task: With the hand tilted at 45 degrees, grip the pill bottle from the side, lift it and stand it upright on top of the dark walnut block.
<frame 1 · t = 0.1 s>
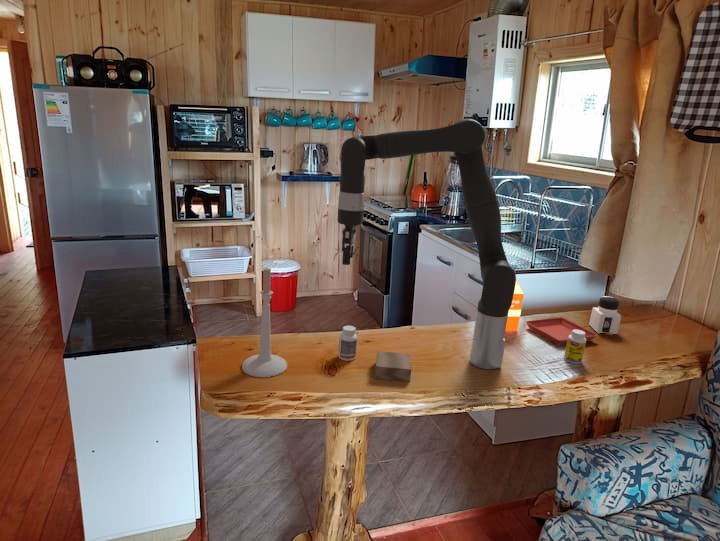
hand: (347, 260, 159), 29 cm above the breakfast bar, tool pointing down, fingers open, 8 cm apart
container: (602, 330, 200), on the breakfast bar
supplement bottle: (572, 361, 172), on the breakfast bar
orange juice: (502, 327, 196), on the breakfast bar
pill bottle: (346, 357, 162), on the breakfast bar
grey pole stand: (264, 367, 153), on the breakfast bar
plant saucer: (559, 336, 192), on the breakfast bar
walnut base: (392, 372, 155), on the breakfast bar
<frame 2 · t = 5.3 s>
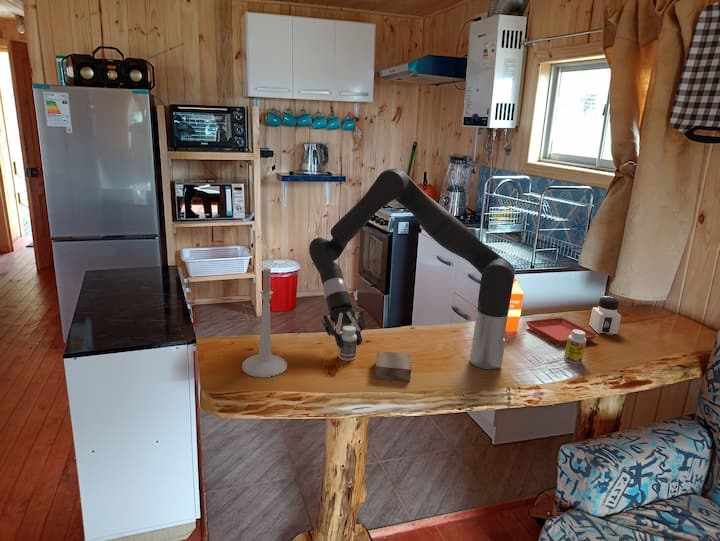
hand: (350, 345, 159), 5 cm above the breakfast bar, tool tilted 45°, fingers closed on pill bottle, 5 cm apart
pill bottle: (346, 357, 162), on the breakfast bar, touching gripper
everything else where it was.
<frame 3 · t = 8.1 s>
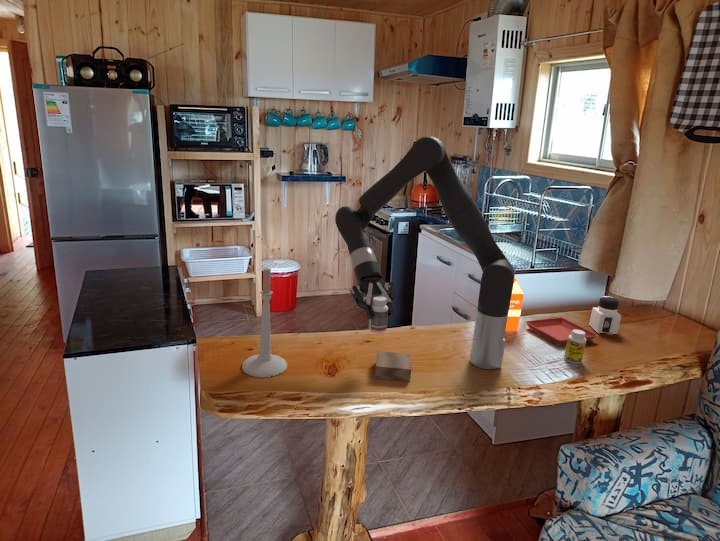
hand: (381, 316, 152), 16 cm above the breakfast bar, tool tilted 45°, fingers closed on pill bottle, 5 cm apart
pill bottle: (377, 330, 155), point 12 cm above the breakfast bar, touching gripper
everything else where it was.
when the fingers open (10 cm above the breakfast bar, at t = 10.8 s): pill bottle drops 1 cm, resting on walnut base.
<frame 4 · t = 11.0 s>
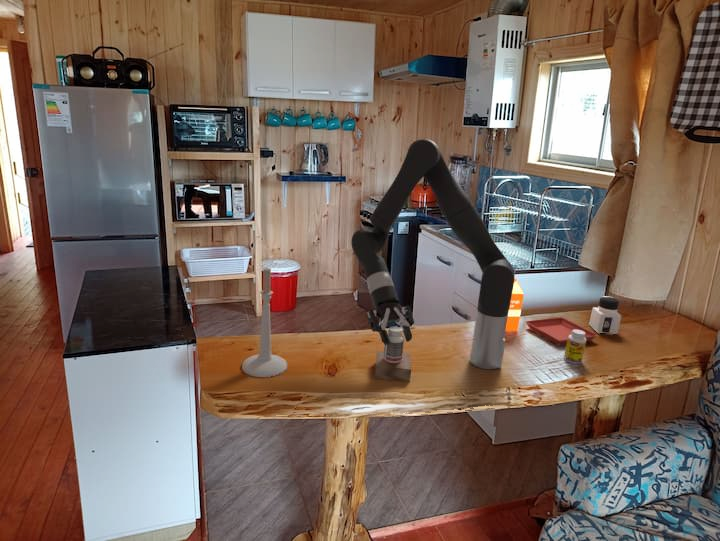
hand: (398, 342, 151), 10 cm above the breakfast bar, tool tilted 45°, fingers open, 6 cm apart
pill bottle: (392, 360, 154), point 4 cm above the breakfast bar, touching walnut base
everything else where it was.
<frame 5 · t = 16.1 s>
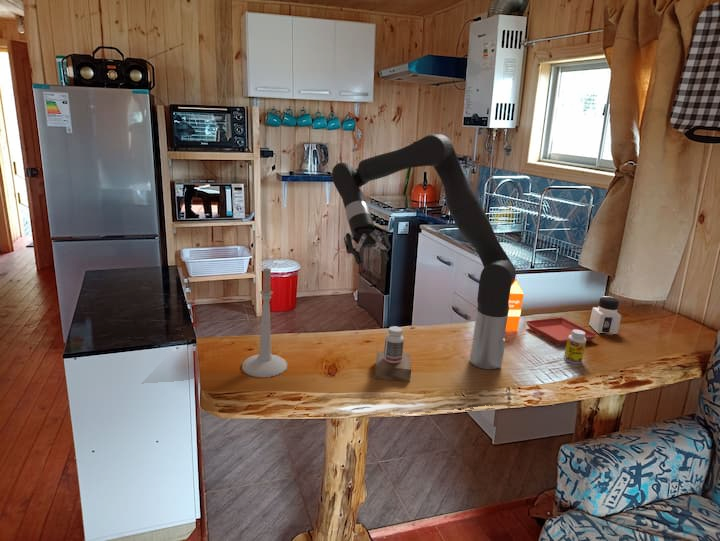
hand: (373, 263, 160), 29 cm above the breakfast bar, tool tilted 45°, fingers open, 8 cm apart
nothing on the breakfast bar moved.
at the end: pill bottle inside the target area on the walnut base (0.3 cm from its centre), point 3.8 cm above the walnut base's base; pill bottle tilted 0°; the gripper is holding nothing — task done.
